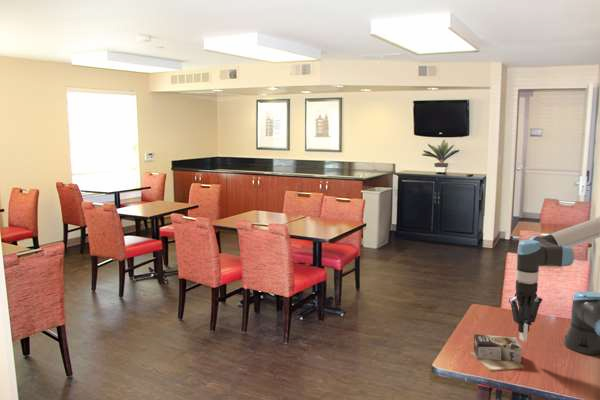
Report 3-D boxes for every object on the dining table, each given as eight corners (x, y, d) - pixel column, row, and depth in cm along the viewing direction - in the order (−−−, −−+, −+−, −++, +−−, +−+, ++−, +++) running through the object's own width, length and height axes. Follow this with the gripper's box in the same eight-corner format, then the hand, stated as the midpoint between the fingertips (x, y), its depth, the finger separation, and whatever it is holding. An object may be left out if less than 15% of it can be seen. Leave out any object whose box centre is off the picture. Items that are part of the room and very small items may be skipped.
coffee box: (522, 347, 191) (478, 343, 193) (520, 362, 192) (476, 359, 194) (516, 336, 199) (473, 333, 202) (514, 351, 201) (472, 348, 203)
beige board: (502, 351, 202) (502, 349, 202) (523, 367, 189) (523, 366, 189) (470, 353, 200) (470, 352, 200) (489, 370, 186) (489, 369, 186)
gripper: (535, 276, 195) (531, 334, 199) (505, 279, 192) (502, 337, 196) (548, 282, 188) (544, 342, 191) (517, 285, 185) (513, 345, 189)
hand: (523, 339), depth 194 cm, fingers closed
